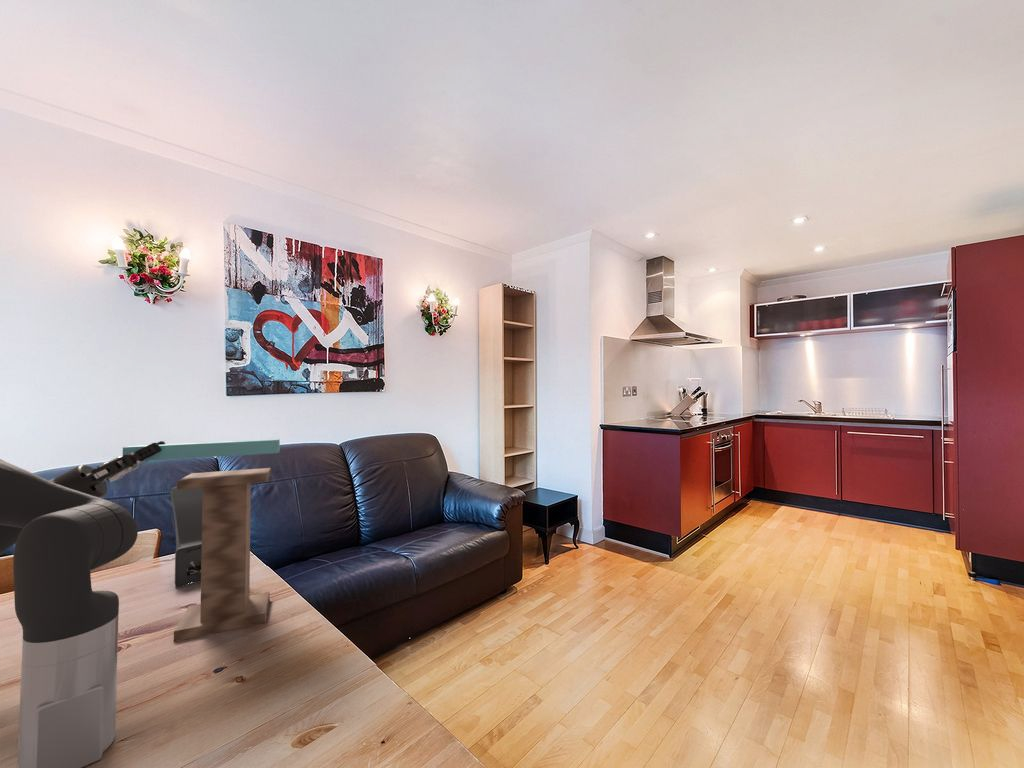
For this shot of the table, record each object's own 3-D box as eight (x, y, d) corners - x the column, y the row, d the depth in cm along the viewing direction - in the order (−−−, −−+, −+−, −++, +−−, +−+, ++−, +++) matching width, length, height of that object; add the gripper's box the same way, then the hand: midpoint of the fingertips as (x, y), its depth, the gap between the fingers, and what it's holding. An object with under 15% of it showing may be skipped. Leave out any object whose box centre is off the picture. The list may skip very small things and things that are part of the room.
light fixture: (207, 561, 131) (209, 481, 132) (224, 575, 119) (225, 488, 120) (162, 571, 123) (164, 487, 124) (175, 588, 111) (177, 494, 112)
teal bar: (122, 462, 87) (122, 447, 87) (129, 460, 90) (130, 445, 90) (278, 452, 99) (278, 440, 99) (279, 451, 102) (279, 438, 103)
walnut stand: (173, 641, 86) (177, 481, 87) (188, 615, 96) (191, 473, 98) (265, 622, 93) (266, 474, 94) (269, 600, 103) (270, 467, 105)
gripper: (34, 483, 77) (139, 432, 84) (72, 472, 90) (162, 429, 97) (61, 516, 79) (163, 463, 85) (95, 501, 91) (181, 456, 98)
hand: (161, 445), depth 91 cm, fingers closed on teal bar, 4 cm apart
